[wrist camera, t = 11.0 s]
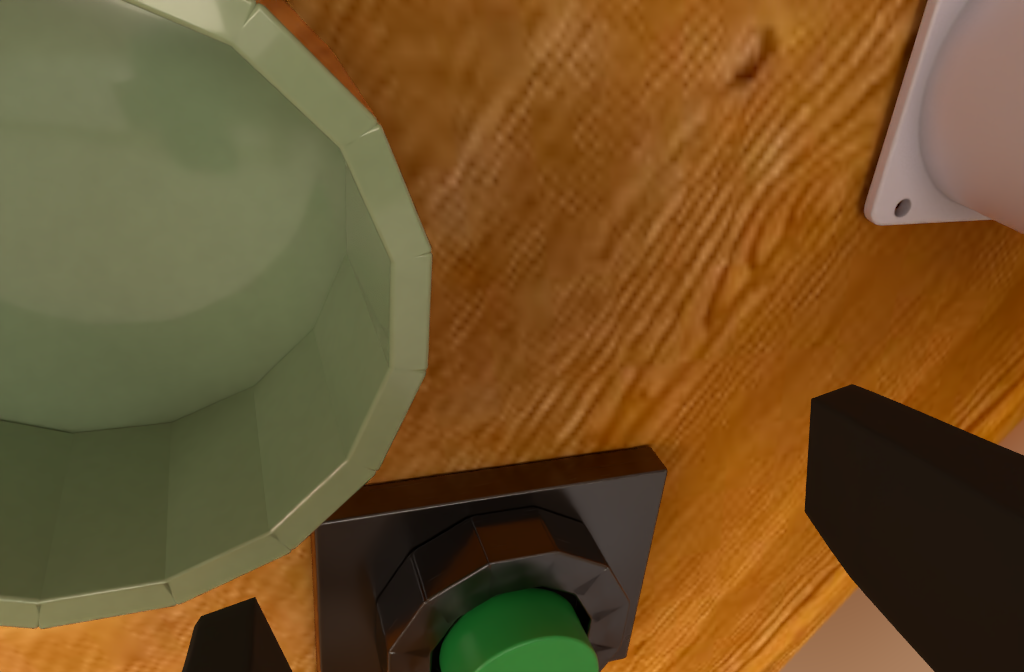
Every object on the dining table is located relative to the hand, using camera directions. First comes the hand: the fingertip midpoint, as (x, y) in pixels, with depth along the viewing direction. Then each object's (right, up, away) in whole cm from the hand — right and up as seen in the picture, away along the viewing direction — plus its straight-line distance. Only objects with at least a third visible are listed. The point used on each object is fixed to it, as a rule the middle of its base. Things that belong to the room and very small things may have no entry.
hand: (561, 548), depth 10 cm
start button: (-1, -6, +13) cm, 14 cm away
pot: (-9, +5, +6) cm, 12 cm away
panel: (-1, -4, +15) cm, 16 cm away
